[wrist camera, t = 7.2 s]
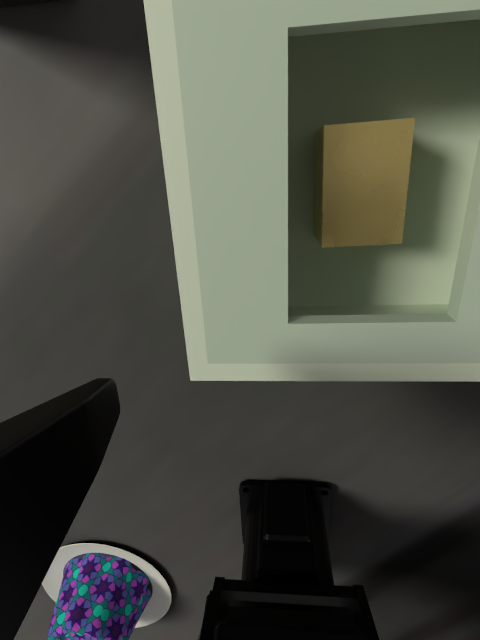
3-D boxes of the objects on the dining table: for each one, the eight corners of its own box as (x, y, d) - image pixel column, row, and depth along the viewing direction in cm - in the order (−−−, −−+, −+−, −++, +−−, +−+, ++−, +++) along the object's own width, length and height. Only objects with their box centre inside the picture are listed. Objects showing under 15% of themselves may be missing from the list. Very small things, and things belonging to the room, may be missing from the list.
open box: (466, 312, 20) (557, 381, 13) (215, 316, 21) (190, 380, 15) (533, -12, 14) (739, -154, 8) (190, 22, 16) (133, -76, 9)
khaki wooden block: (379, 229, 18) (401, 243, 15) (313, 233, 18) (321, 247, 15) (386, 127, 16) (415, 117, 13) (314, 133, 16) (323, 125, 13)
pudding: (196, 571, 31) (181, 645, 27) (143, 633, 36) (123, 706, 31) (67, 514, 30) (28, 581, 25) (30, 587, 34) (-10, 655, 30)
